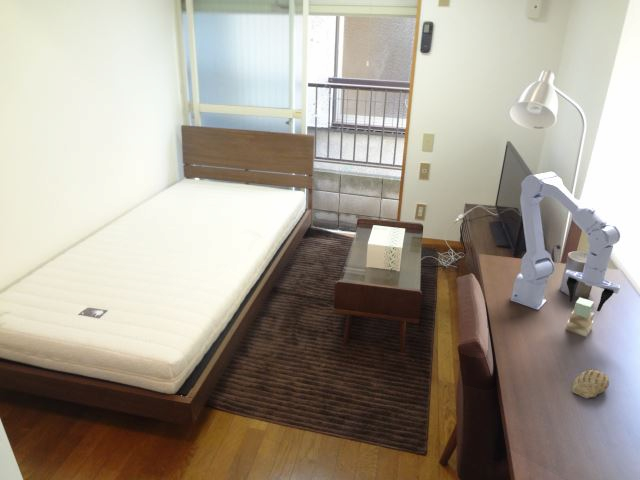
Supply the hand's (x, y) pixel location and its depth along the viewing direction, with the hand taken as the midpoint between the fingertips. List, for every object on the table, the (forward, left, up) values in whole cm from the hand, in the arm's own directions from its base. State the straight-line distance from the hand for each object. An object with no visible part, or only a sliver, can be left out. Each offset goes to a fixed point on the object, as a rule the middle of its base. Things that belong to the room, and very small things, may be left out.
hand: (585, 305), depth 147 cm
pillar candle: (-8, +24, -9) cm, 27 cm away
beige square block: (0, 0, -6) cm, 6 cm away
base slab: (0, 0, -9) cm, 9 cm away
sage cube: (0, 0, -3) cm, 3 cm away
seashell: (+10, -28, -9) cm, 31 cm away
